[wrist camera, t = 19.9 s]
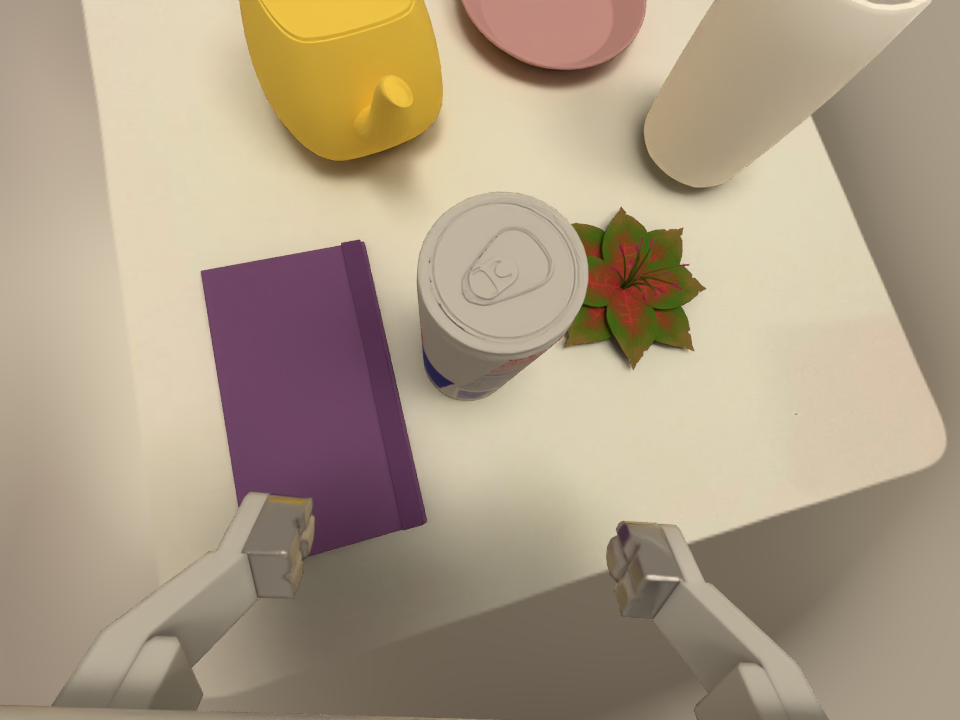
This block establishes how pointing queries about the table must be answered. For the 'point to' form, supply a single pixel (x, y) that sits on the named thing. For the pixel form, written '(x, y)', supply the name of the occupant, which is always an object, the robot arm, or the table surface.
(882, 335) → the table surface
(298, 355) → the purple closed book
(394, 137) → the teapot
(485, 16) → the plate
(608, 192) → the table surface
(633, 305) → the lily flower
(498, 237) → the beverage can
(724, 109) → the cup
